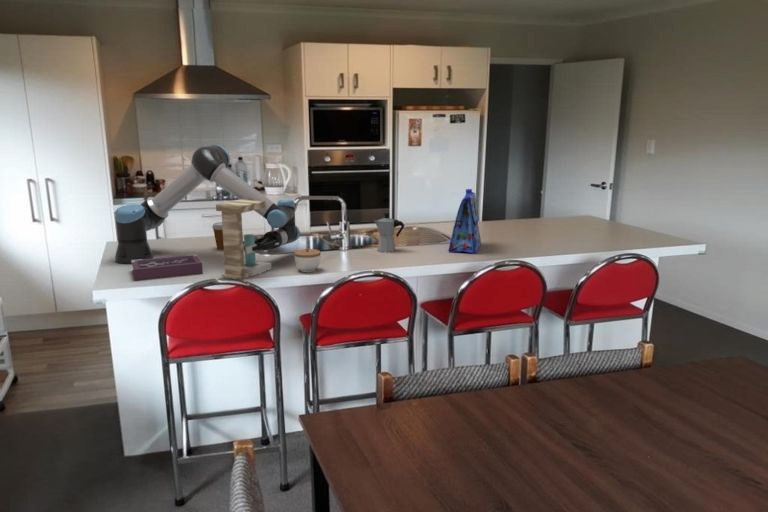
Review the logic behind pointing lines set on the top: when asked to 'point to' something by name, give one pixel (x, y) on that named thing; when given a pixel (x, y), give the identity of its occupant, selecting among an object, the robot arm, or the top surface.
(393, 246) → the coffee maker
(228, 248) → the wooden pedestal
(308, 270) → the lidded jar
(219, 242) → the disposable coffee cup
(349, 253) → the top surface
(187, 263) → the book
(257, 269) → the socket
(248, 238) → the peg
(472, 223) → the lunch bag
